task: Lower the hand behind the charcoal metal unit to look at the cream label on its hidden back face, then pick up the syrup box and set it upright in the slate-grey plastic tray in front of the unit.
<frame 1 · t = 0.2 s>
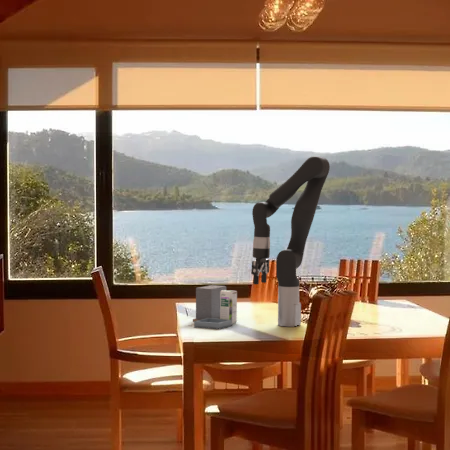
hand: (259, 283, 368), 18 cm above the table, tool pointing down, fingers open, 8 cm apart
syrup box: (228, 323, 367), on the table
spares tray: (213, 326, 357), on the table
mounted unit: (211, 319, 376), on the table
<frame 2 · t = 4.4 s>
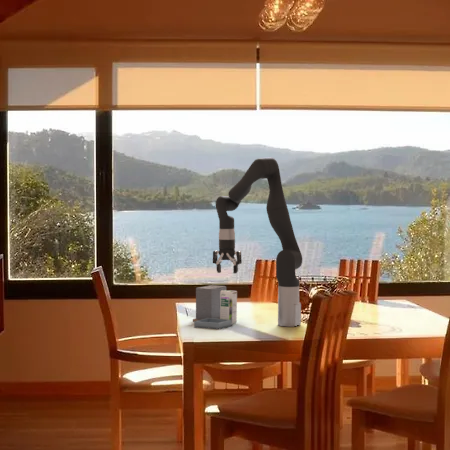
hand: (227, 273, 389), 20 cm above the table, tool pointing down, fingers open, 8 cm apart
nothing on the table moved.
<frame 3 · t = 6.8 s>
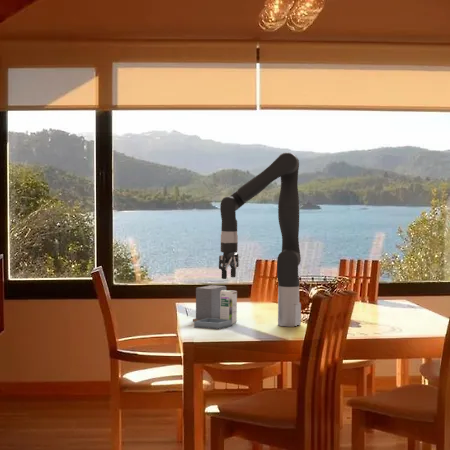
hand: (228, 278, 367), 20 cm above the table, tool pointing down, fingers open, 8 cm apart
nothing on the table moved.
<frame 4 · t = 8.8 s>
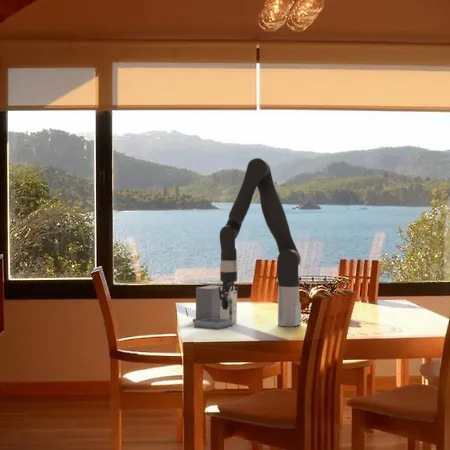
hand: (228, 308, 367), 7 cm above the table, tool pointing down, fingers closed on syrup box, 6 cm apart
syrup box: (228, 323, 367), on the table, touching gripper
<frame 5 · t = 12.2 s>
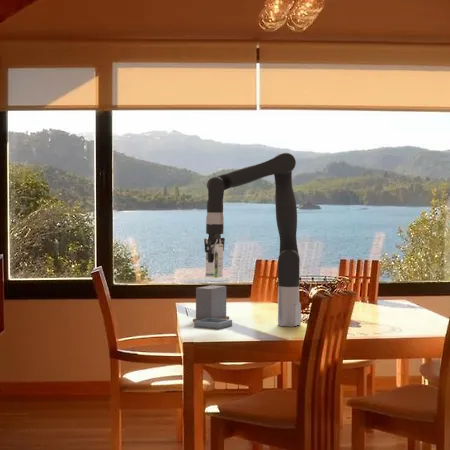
hand: (214, 261, 357), 28 cm above the table, tool pointing down, fingers closed on syrup box, 6 cm apart
syrup box: (214, 277, 357), point 21 cm above the table, touching gripper
when the fingers open (8 cm above the table, at t = 15.7 s): syrup box drops 1 cm, resting on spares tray.
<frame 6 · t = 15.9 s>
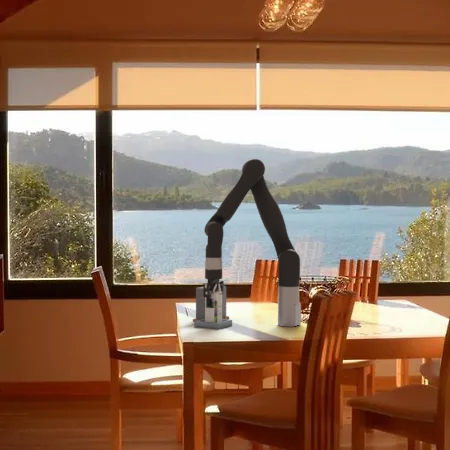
hand: (213, 306, 357), 9 cm above the table, tool pointing down, fingers open, 7 cm apart
syrup box: (213, 325, 357), resting on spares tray
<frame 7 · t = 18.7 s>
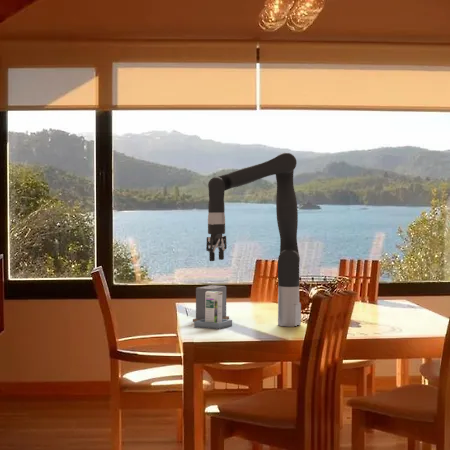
hand: (216, 260, 359), 28 cm above the table, tool pointing down, fingers open, 8 cm apart
nothing on the table moved.
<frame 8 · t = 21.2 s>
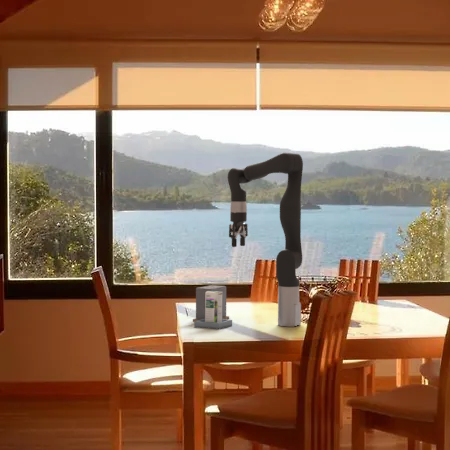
hand: (238, 246, 383), 33 cm above the table, tool pointing down, fingers open, 8 cm apart
nothing on the table moved.
at the end: syrup box 0.3 cm off-centre on the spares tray, point 0.4 cm above the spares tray's base; syrup box tilted 0°; the gripper is holding nothing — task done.
